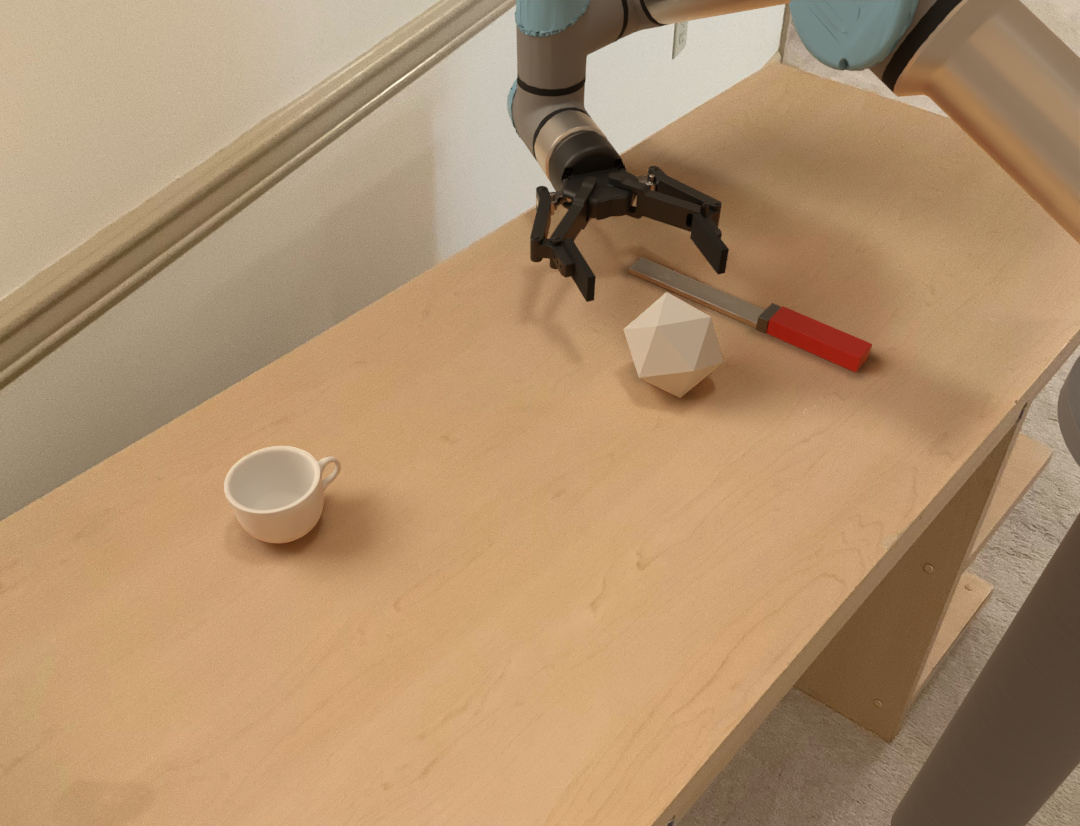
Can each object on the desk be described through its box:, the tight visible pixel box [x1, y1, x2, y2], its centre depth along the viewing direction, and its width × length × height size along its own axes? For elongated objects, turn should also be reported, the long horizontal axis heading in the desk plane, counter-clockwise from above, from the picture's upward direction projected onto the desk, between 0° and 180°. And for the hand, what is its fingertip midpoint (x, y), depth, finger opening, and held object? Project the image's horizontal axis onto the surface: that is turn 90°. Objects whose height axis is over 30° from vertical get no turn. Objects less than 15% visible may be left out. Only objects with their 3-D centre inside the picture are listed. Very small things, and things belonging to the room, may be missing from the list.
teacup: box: [223, 445, 342, 544], centre depth 85 cm, size 10×8×5 cm
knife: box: [628, 256, 873, 373], centre depth 105 cm, size 27×3×2 cm, turn 53°
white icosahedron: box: [623, 291, 725, 399], centre depth 96 cm, size 8×9×10 cm
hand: (658, 275), depth 96 cm, fingers open, 13 cm apart
